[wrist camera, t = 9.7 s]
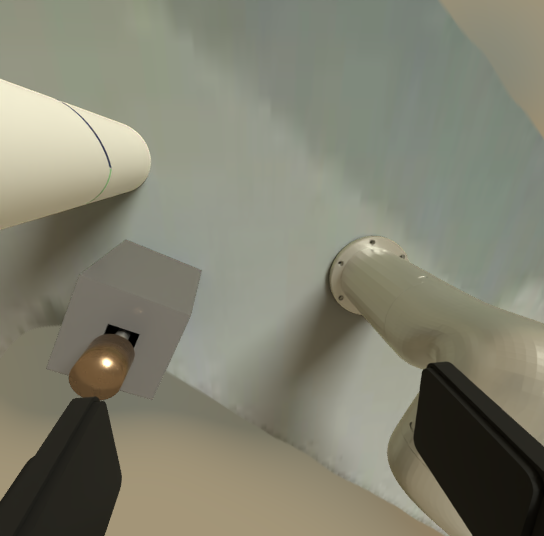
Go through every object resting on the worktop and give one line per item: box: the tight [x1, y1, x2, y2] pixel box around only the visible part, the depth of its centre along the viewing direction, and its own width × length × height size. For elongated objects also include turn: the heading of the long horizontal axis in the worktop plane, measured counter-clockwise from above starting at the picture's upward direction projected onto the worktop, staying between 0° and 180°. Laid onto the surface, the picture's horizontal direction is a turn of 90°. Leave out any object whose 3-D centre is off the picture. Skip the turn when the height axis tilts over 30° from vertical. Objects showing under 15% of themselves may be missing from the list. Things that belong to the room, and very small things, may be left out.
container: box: [0, 79, 151, 230], centre depth 27 cm, size 9×9×30 cm
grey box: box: [46, 240, 202, 400], centre depth 40 cm, size 11×11×15 cm
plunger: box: [69, 328, 135, 400], centre depth 37 cm, size 8×8×20 cm
